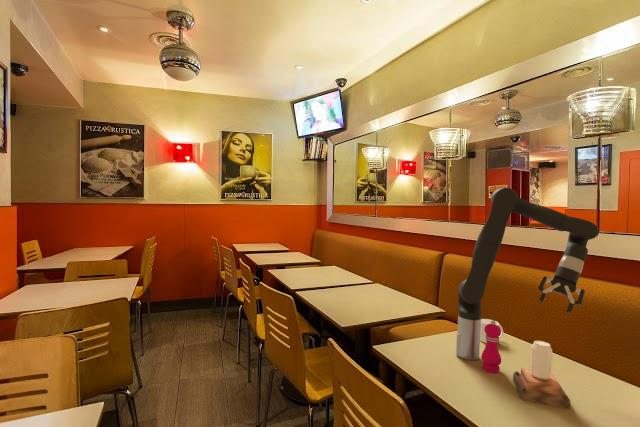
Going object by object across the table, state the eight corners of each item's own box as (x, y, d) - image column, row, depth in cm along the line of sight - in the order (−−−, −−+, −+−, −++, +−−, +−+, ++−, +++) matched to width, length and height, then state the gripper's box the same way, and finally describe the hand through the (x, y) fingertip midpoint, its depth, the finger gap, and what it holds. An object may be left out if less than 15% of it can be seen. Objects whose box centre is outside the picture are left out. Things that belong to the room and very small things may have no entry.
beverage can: (528, 376, 121) (529, 342, 121) (531, 370, 126) (533, 338, 125) (548, 383, 117) (550, 348, 117) (552, 376, 122) (554, 343, 121)
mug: (480, 343, 165) (481, 324, 165) (475, 336, 174) (475, 318, 174) (507, 345, 164) (508, 326, 163) (500, 338, 173) (501, 320, 172)
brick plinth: (520, 399, 117) (521, 382, 117) (513, 380, 130) (513, 364, 130) (569, 409, 112) (570, 391, 112) (556, 388, 126) (557, 372, 125)
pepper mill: (499, 367, 141) (501, 319, 140) (502, 375, 134) (505, 324, 133) (479, 364, 143) (482, 316, 142) (481, 371, 136) (484, 321, 136)
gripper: (547, 260, 136) (532, 298, 135) (591, 274, 127) (576, 315, 125) (549, 265, 142) (534, 301, 140) (591, 278, 133) (576, 317, 131)
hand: (554, 307), depth 133 cm, fingers open, 8 cm apart
